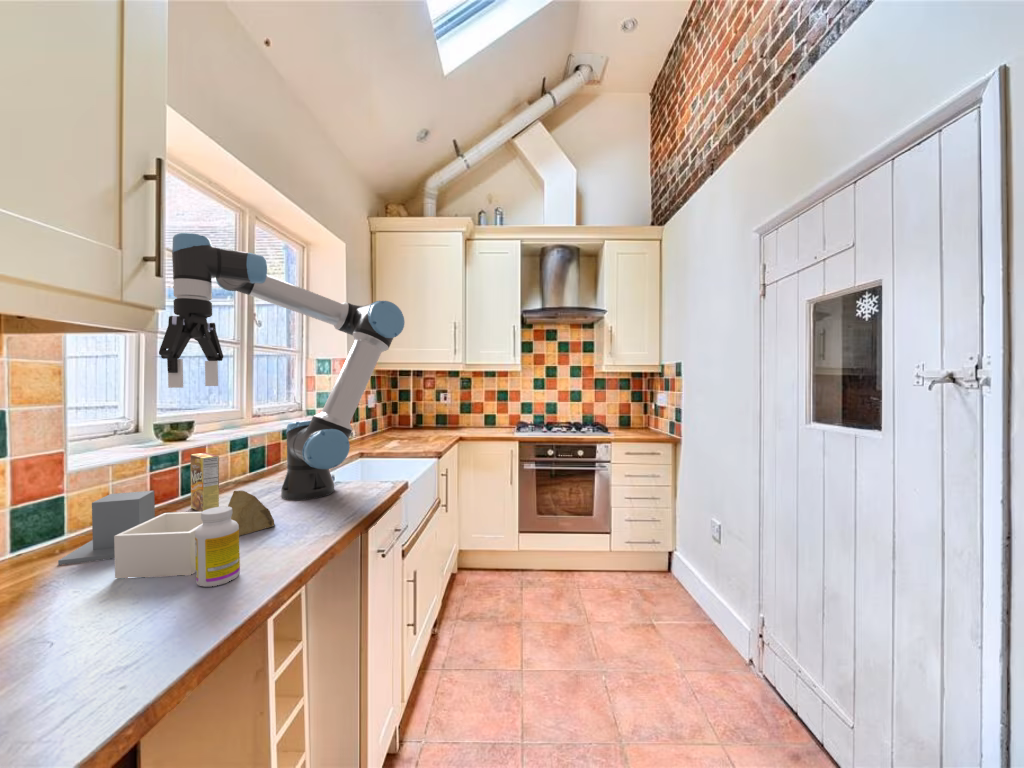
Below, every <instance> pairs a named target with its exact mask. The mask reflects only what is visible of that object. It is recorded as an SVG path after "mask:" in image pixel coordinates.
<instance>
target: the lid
mask: <svg viewBox="0 0 1024 768" xmlns="http://www.w3.org/2000/svg"><path fill="white" fill-rule="evenodd" d="M155 505H156V504H155V490H145V491H135V492H134V491H130V492H119V493H110V494H107V495H106V496H103V497H100V498H99V499H97V500H94V501H93V502H91V521H92V522H91V524H92V527H91V528H92V539H91V540H90V541H88V542H86V543H84V544H83V545H82V546H80V547H78V548H76V549H75V550H73V551H72V552H70V553H68V554H67V555H65V556H63V557H62V558H60V559H58V560H57V561H58V562H57V565H58V566H62V564H65V565H72V563H73V564H80V563H81V562H82V563H89V561H91V562H97V561H96V560H99V561H104V560H103V559H108V560H111V559H110V558H115V551H114V536H115V535H117V534H120V533H122V532H124V531H126V530H128V529H131V528H133V527H135V526H137V525H139V524H142V523H144V522H146V521H148V520H150V519H152V518H155V517H156V516H155V515H156V512H155V511H156V509H155V507H156V506H155Z"/></svg>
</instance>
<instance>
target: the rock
mask: <svg viewBox="0 0 1024 768" xmlns="http://www.w3.org/2000/svg"><path fill="white" fill-rule="evenodd" d="M227 506H228V507H232V516H231V520H234V521H236V522H237V523H238V525H239V537H241V536H243V535H244V536H245V535H248V534H251V533H255V532H258V531H262V530H265V529H269V528H272V527H275V526H276V524H275V519H274V517H273V516H272V513H271V511H270V509H269V508H267V507H266V506H265V505H264V504H263V502H261V501H260V500H259V499H258V498H257V496H255V495H253V494H251V493H249V492H247V491H245V490H234V491H233V493H232V496H231V497H230V500H229V503H228V505H227Z"/></svg>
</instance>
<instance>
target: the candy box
mask: <svg viewBox="0 0 1024 768" xmlns="http://www.w3.org/2000/svg"><path fill="white" fill-rule="evenodd" d="M219 461H220V456H219V455H217V454H211V453H208V452H201V453H193V454H190V508H191V509H193V510H195V511H196V512H202V511H204V510H207V509H210V508H215V507H220V488H219V487H220V481H219V480H220V463H219Z"/></svg>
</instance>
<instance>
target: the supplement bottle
mask: <svg viewBox="0 0 1024 768" xmlns="http://www.w3.org/2000/svg"><path fill="white" fill-rule="evenodd" d="M231 516H232V507H228V505H227V506H219V507H215V508H210V509H207V510H204V511H202V512H201V519H202V521H203V524H202V525H201V526H199V527H198V528H197V529H196V531H195V560H196V572H195V582H196V584H197V586H200V587H205V588H209V587H210V588H211V587H212V586H213V587H218V586H221V585H224V584H225V585H226V584H227V583H229V581H230V582H232V581H233V580H235V579H236V578H238V576H239V575H240V573H241V568H240V567H241V563H240V562H241V558H240V557H241V556H240V536H239V525H238V523H237V522H236V521H234V520H231ZM231 580H232V581H231ZM217 585H218V586H217Z"/></svg>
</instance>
